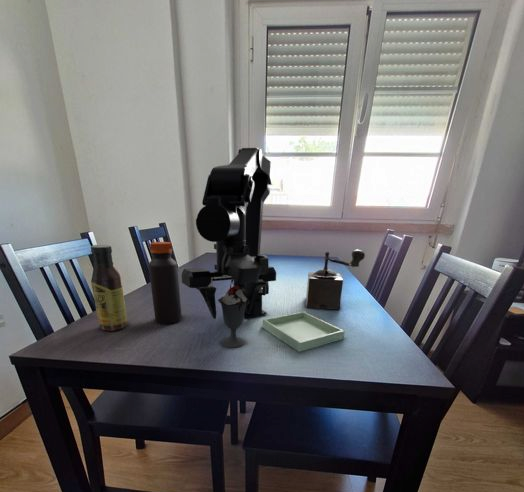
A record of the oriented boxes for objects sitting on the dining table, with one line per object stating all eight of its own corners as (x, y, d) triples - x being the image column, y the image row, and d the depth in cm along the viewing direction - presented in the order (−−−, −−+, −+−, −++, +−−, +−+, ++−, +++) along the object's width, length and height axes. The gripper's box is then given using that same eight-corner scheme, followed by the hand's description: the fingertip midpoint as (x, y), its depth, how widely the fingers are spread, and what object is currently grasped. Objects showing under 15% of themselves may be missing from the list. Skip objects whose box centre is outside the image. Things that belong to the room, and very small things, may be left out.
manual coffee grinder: (305, 308, 86) (310, 248, 79) (305, 298, 96) (309, 244, 90) (358, 312, 84) (367, 250, 78) (352, 301, 94) (360, 246, 88)
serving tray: (262, 327, 72) (262, 319, 71) (302, 318, 78) (303, 311, 77) (299, 351, 60) (299, 342, 59) (343, 339, 66) (344, 330, 65)
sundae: (225, 352, 59) (224, 282, 53) (214, 339, 64) (213, 274, 59) (253, 346, 62) (255, 280, 56) (240, 334, 67) (241, 272, 62)
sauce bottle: (96, 327, 70) (79, 245, 63) (121, 320, 74) (108, 243, 67) (106, 335, 66) (89, 248, 58) (132, 327, 70) (120, 245, 63)
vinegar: (175, 325, 72) (167, 245, 65) (150, 323, 73) (139, 243, 66) (186, 316, 78) (179, 242, 71) (163, 314, 79) (154, 241, 72)
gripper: (198, 242, 44) (202, 335, 48) (294, 241, 53) (289, 320, 58) (178, 238, 53) (183, 317, 57) (263, 238, 62) (261, 306, 67)
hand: (231, 315), depth 60 cm, fingers closed on sundae, 7 cm apart
